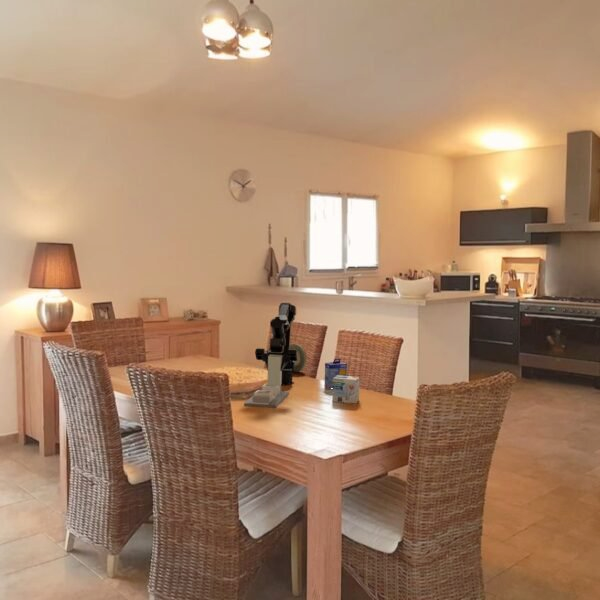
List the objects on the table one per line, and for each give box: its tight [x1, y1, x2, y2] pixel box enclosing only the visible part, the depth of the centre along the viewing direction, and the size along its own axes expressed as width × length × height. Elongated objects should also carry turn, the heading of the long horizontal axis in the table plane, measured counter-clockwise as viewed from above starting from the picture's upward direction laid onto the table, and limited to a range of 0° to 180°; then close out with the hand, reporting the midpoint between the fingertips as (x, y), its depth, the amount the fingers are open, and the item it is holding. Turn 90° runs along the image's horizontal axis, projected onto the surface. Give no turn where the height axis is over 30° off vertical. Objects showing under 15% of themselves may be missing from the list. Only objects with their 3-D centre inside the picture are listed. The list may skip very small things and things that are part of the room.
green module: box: [266, 354, 282, 386], centre depth 280 cm, size 5×6×13 cm
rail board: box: [243, 383, 290, 408], centre depth 281 cm, size 26×14×5 cm, turn 169°
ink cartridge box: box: [324, 358, 348, 390], centre depth 306 cm, size 10×6×14 cm, turn 115°
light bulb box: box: [331, 375, 361, 404], centre depth 279 cm, size 11×7×11 cm, turn 68°
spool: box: [265, 343, 307, 373], centre depth 341 cm, size 16×15×15 cm
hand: (274, 370), depth 278 cm, fingers closed on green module, 5 cm apart
